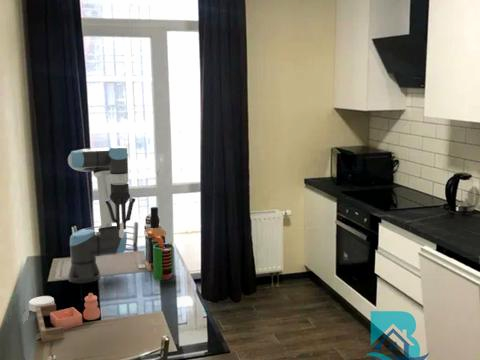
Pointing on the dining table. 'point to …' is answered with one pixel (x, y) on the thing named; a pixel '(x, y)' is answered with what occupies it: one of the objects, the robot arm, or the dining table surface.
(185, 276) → the dining table surface
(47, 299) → the coaster
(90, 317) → the pottery
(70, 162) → the robot arm
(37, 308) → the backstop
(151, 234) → the whiskey bottle
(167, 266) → the motor
